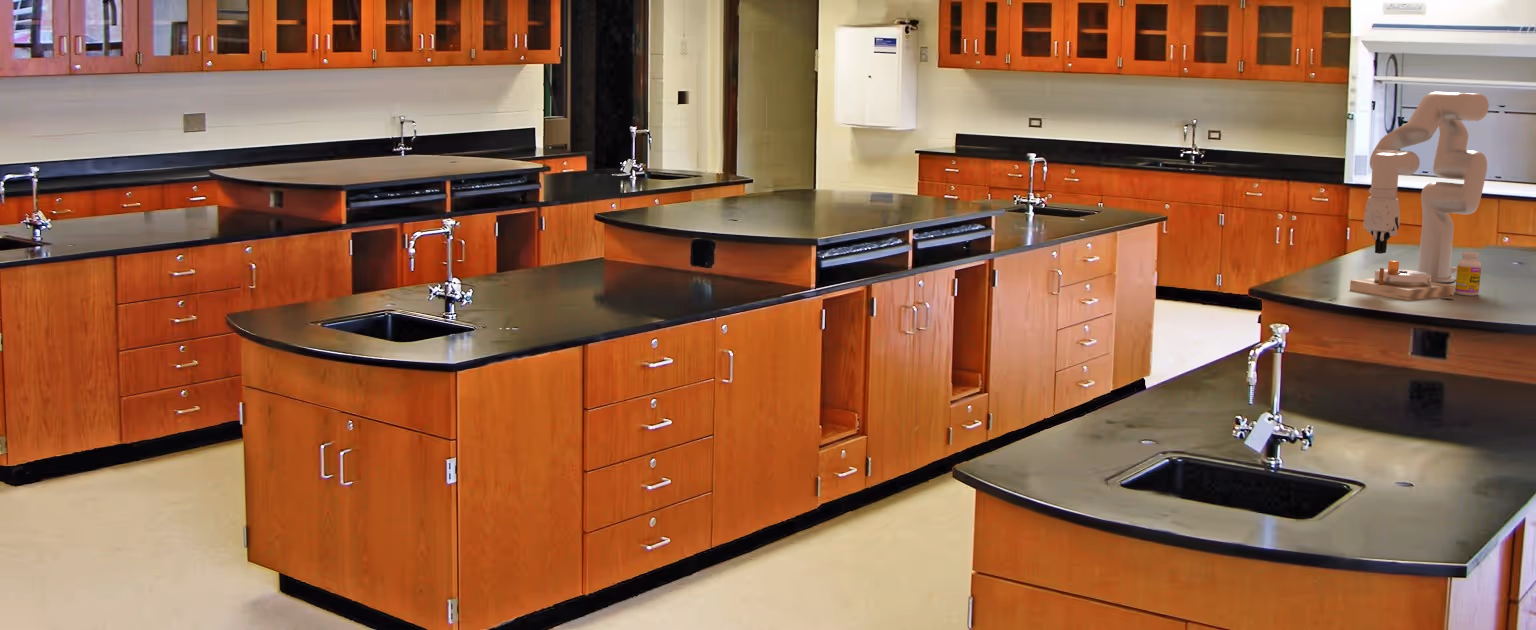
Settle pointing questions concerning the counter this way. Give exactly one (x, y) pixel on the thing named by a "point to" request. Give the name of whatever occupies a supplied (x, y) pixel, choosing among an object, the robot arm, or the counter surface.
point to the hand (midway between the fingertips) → (1380, 252)
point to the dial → (1403, 276)
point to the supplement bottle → (1468, 274)
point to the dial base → (1401, 289)
